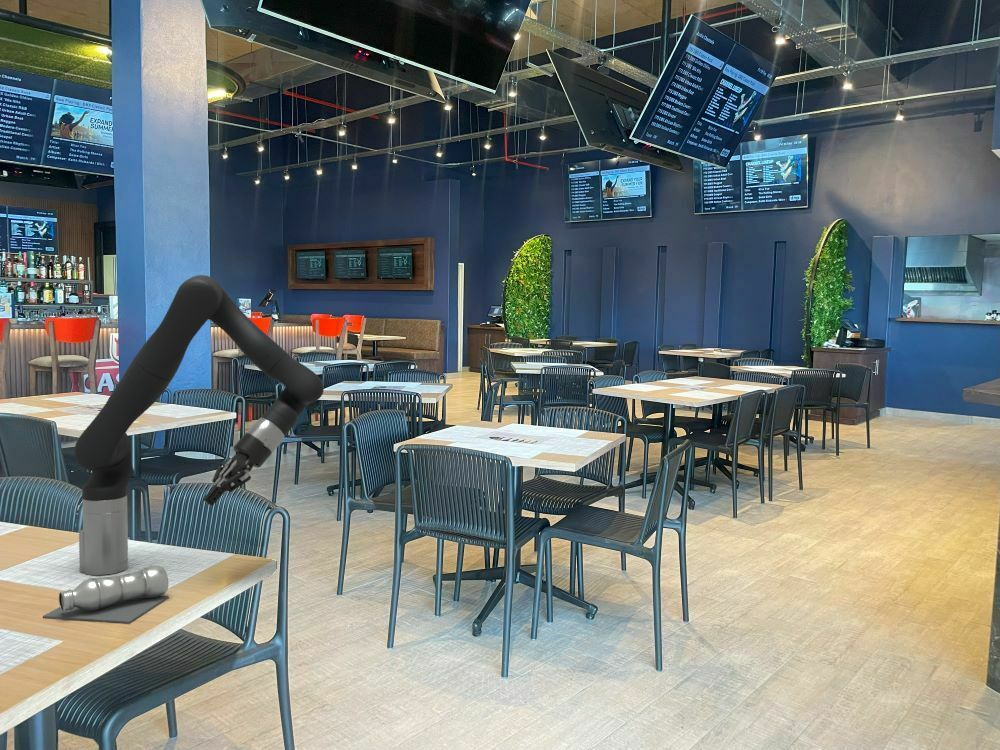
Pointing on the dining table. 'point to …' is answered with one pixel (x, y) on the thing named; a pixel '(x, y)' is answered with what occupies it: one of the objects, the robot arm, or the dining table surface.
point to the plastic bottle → (115, 589)
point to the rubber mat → (110, 611)
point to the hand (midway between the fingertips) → (207, 502)
